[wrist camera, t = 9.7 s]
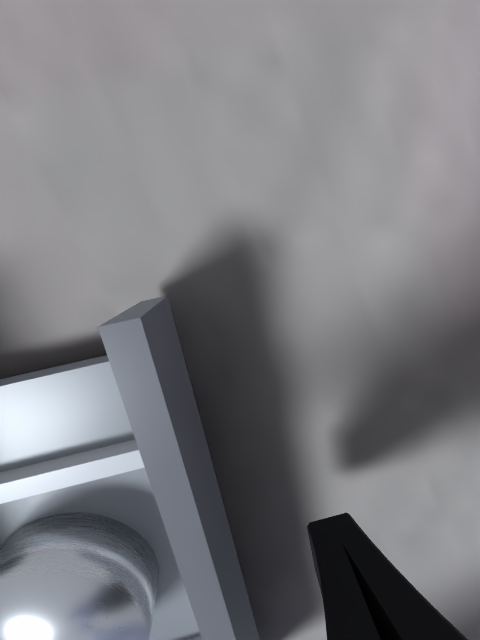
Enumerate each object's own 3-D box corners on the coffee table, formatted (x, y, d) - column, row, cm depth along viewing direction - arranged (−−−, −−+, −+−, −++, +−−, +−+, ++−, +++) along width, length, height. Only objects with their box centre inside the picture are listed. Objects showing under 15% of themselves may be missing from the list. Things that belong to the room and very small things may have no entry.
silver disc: (-40, 538, 9) (-103, 608, 7) (134, 493, 9) (116, 549, 7) (25, 658, 10) (-15, 744, 8) (176, 614, 10) (169, 688, 8)
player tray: (167, 295, 9) (139, 317, 5) (268, 672, 12) (290, 822, 9) (-305, 399, 8) (-680, 499, 5) (-43, 766, 12) (-142, 965, 8)
